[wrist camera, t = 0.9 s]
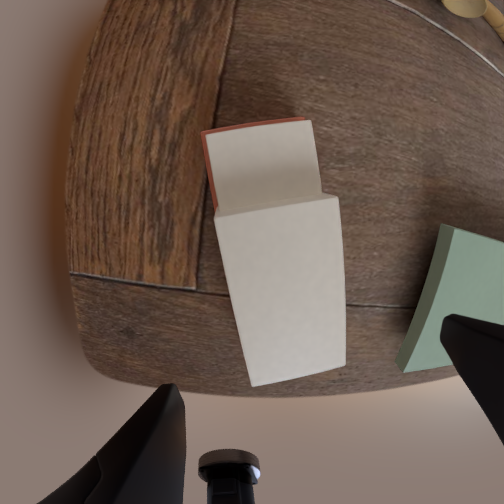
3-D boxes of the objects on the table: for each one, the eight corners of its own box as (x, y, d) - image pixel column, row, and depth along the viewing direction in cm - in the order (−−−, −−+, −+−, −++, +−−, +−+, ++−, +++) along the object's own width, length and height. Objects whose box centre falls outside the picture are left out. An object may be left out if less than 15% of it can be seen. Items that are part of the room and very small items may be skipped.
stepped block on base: (322, 332, 19) (347, 377, 14) (245, 348, 19) (252, 399, 14) (298, 120, 15) (327, 102, 10) (202, 134, 15) (191, 120, 10)
